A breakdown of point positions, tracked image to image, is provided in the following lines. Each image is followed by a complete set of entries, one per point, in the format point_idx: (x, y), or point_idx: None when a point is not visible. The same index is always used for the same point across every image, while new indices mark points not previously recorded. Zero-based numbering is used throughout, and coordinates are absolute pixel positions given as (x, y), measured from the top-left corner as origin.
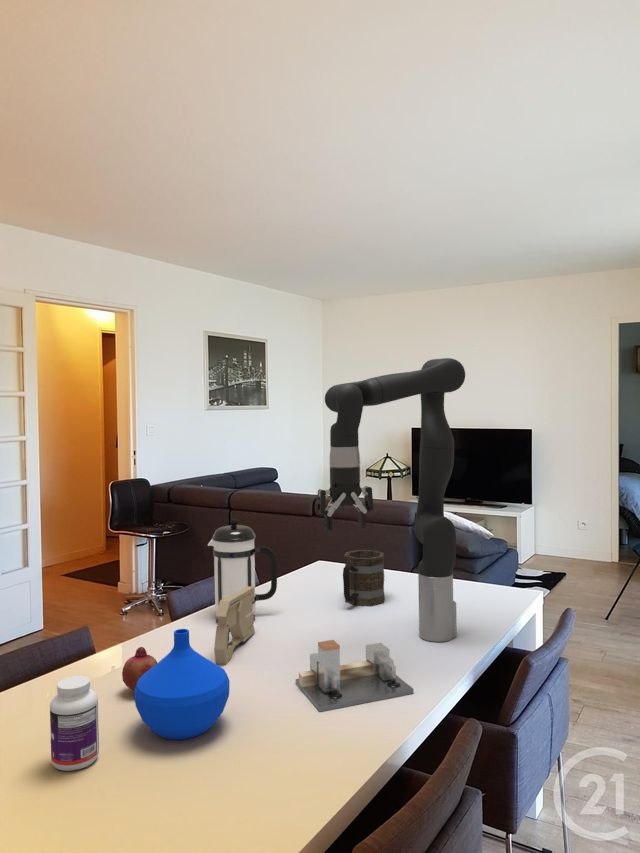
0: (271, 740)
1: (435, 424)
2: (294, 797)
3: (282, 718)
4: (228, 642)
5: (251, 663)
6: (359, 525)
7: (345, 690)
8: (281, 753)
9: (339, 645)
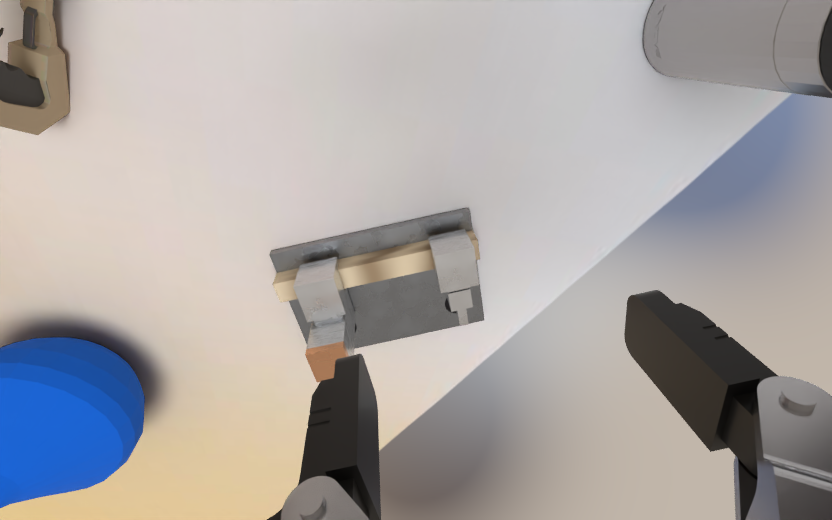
0: (240, 410)
1: None
2: (275, 492)
3: (252, 363)
4: (28, 78)
5: (144, 118)
6: (639, 324)
7: (365, 311)
8: (256, 434)
9: None
